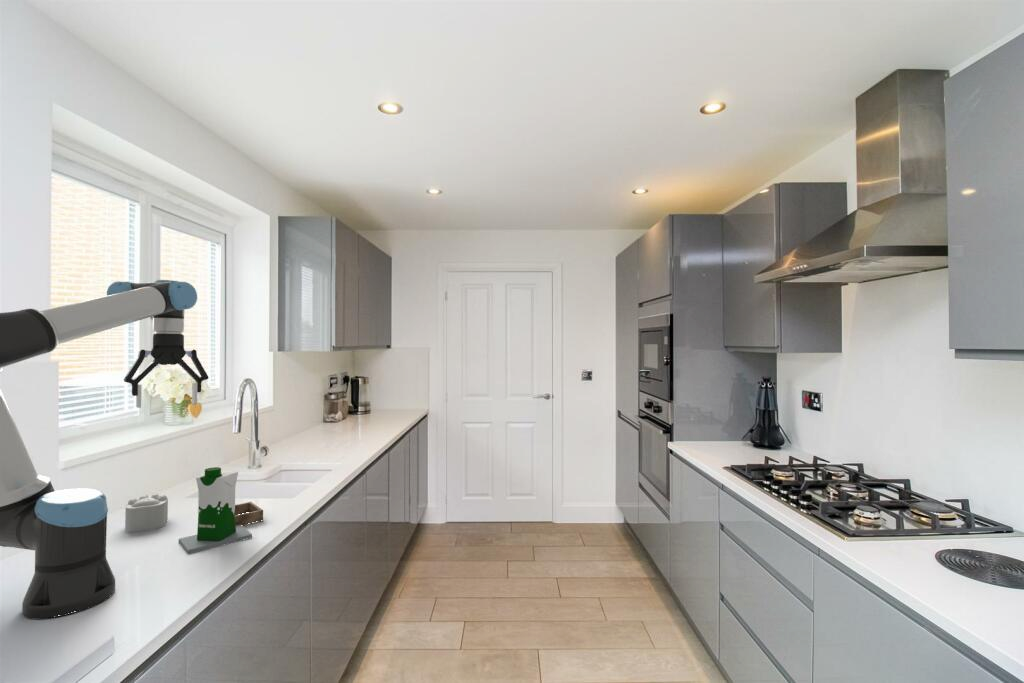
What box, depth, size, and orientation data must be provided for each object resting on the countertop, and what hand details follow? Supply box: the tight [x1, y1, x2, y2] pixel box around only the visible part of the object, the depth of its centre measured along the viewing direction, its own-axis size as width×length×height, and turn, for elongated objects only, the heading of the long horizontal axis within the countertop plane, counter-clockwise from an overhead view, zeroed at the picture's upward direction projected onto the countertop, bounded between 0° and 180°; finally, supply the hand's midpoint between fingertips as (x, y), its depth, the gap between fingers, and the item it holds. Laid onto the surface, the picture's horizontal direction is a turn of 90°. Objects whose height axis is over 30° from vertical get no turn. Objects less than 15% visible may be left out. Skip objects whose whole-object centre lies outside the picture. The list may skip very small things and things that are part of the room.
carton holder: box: [235, 501, 264, 526], centre depth 156 cm, size 12×12×4 cm
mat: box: [178, 525, 253, 555], centre depth 141 cm, size 16×11×1 cm
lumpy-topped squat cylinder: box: [124, 493, 169, 533], centre depth 153 cm, size 10×13×9 cm
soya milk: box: [195, 466, 239, 541], centre depth 141 cm, size 9×9×20 cm
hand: (167, 405), depth 143 cm, fingers open, 13 cm apart
